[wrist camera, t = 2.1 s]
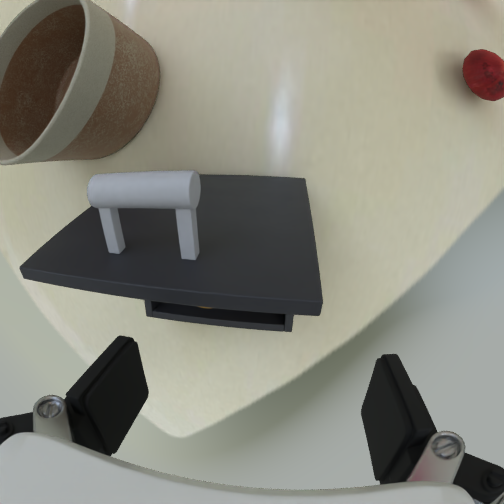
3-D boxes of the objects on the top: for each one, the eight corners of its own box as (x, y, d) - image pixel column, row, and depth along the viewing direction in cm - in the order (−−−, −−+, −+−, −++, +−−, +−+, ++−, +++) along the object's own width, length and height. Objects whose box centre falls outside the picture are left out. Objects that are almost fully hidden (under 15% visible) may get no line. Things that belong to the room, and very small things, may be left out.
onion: (483, 113, 22) (526, 106, 15) (447, 87, 22) (487, 71, 15) (489, 76, 21) (527, 63, 13) (454, 50, 21) (489, 29, 13)
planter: (73, 181, 30) (-14, 197, 17) (48, 80, 27) (-27, 67, 13) (181, 118, 27) (107, 90, 14) (143, 13, 23) (80, -40, 10)
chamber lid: (320, 316, 11) (340, 200, 9) (23, 279, 13) (-4, 200, 10) (304, 187, 24) (308, 131, 22) (135, 183, 26) (129, 134, 23)
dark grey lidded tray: (291, 316, 32) (291, 332, 29) (157, 303, 33) (146, 316, 30) (302, 180, 28) (304, 182, 24) (151, 177, 29) (136, 179, 26)
